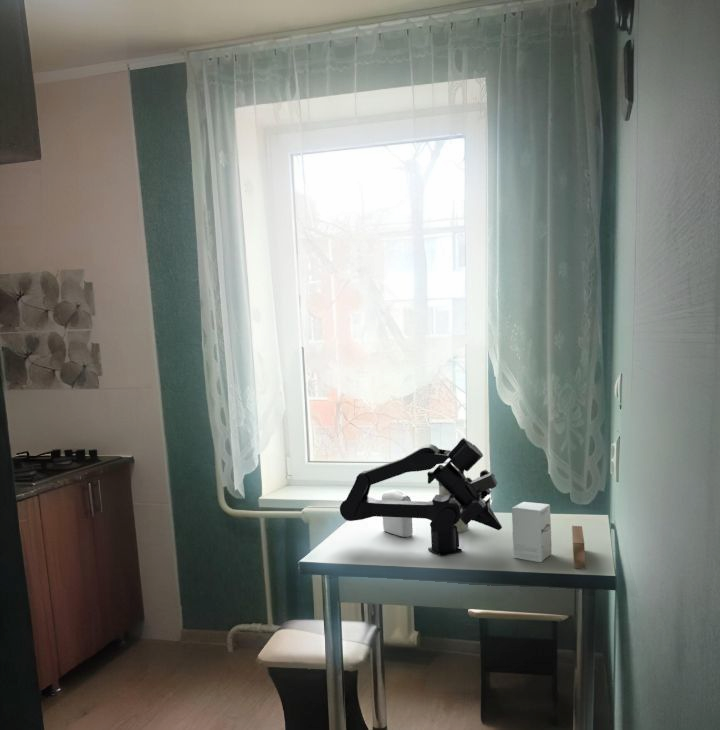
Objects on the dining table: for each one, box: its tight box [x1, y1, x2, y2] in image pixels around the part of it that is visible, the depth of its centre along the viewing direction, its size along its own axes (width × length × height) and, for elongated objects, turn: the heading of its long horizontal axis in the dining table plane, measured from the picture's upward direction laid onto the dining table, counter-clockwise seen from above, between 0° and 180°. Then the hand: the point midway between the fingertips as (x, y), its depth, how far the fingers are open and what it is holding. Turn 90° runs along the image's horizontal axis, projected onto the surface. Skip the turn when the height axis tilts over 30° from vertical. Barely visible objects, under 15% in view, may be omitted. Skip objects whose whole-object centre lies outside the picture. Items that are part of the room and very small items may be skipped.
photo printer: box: [381, 489, 414, 538], centre depth 178 cm, size 10×4×12 cm, turn 35°
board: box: [571, 525, 586, 569], centre depth 150 cm, size 2×14×6 cm, turn 163°
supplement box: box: [511, 501, 553, 563], centre depth 154 cm, size 7×7×13 cm
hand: (500, 528), depth 156 cm, fingers closed
